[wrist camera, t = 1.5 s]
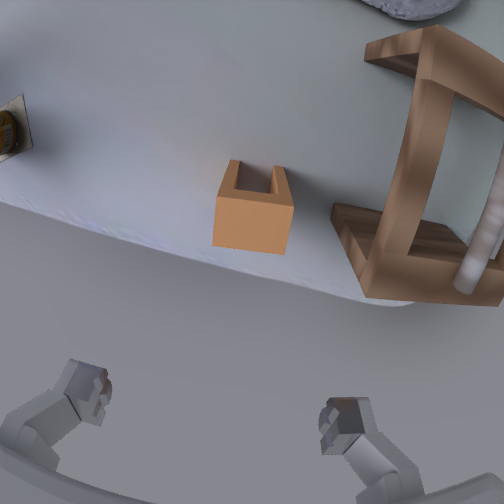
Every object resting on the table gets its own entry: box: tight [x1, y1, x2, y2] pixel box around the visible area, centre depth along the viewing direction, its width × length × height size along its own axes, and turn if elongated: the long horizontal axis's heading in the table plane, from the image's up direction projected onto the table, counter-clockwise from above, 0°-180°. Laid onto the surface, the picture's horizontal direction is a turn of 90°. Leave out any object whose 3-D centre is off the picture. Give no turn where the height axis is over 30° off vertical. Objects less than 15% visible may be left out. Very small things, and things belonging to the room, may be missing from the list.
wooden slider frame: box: [330, 24, 504, 307], centre depth 22 cm, size 20×16×16 cm
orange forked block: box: [212, 160, 294, 255], centre depth 27 cm, size 4×6×11 cm
